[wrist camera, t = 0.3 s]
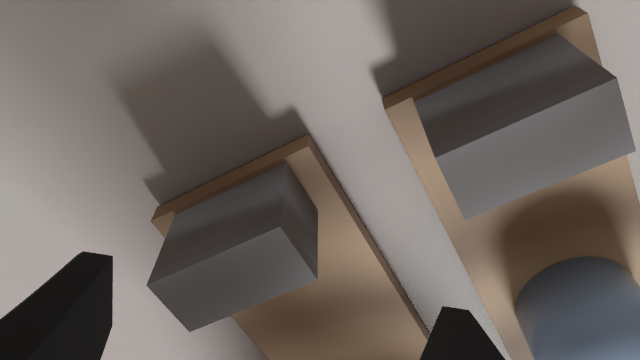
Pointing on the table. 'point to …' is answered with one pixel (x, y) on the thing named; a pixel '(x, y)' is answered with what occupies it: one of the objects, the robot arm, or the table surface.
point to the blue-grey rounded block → (581, 311)
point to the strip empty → (284, 264)
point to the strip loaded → (525, 160)
